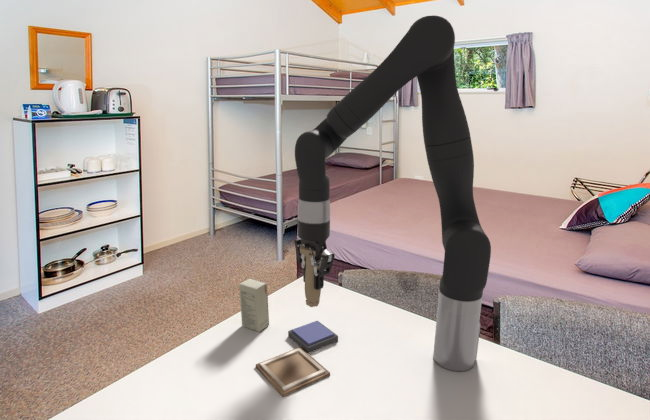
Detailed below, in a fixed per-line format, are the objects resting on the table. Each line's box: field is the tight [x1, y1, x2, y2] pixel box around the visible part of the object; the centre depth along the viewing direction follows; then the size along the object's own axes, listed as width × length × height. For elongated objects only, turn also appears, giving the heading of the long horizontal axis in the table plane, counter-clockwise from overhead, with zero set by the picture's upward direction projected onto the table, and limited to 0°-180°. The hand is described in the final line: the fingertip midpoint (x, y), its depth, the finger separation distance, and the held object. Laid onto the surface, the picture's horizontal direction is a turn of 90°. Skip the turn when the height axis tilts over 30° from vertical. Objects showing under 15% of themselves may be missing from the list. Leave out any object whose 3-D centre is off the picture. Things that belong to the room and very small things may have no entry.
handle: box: [300, 244, 323, 308], centre depth 103 cm, size 5×6×15 cm
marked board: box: [255, 346, 331, 397], centre depth 95 cm, size 12×12×1 cm
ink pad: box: [287, 320, 339, 354], centre depth 107 cm, size 9×9×2 cm
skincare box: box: [238, 278, 270, 333], centre depth 112 cm, size 6×4×12 cm
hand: (313, 284), depth 103 cm, fingers closed on handle, 4 cm apart
